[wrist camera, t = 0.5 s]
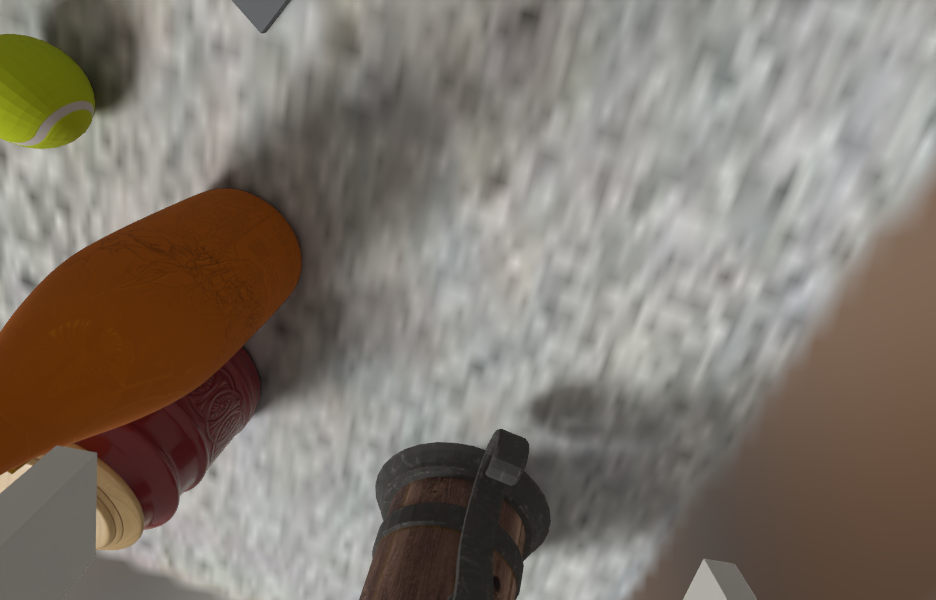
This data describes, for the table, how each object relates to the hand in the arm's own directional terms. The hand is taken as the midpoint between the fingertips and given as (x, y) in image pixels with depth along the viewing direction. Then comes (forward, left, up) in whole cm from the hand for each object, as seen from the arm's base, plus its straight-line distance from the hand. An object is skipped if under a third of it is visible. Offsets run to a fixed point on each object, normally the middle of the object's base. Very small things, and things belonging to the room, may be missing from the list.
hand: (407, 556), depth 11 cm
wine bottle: (+21, -2, -26) cm, 33 cm away
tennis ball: (+27, -16, -26) cm, 41 cm away
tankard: (+13, +25, -26) cm, 38 cm away
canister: (+33, +7, -26) cm, 43 cm away
